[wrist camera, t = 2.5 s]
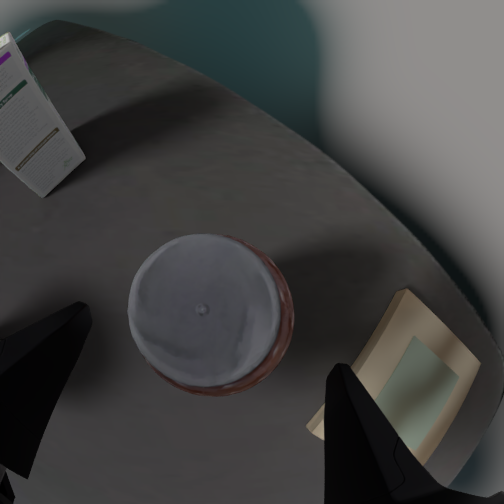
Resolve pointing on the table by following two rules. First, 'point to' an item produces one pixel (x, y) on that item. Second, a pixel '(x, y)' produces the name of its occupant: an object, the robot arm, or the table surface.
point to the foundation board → (413, 374)
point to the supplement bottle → (211, 314)
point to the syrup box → (31, 126)
